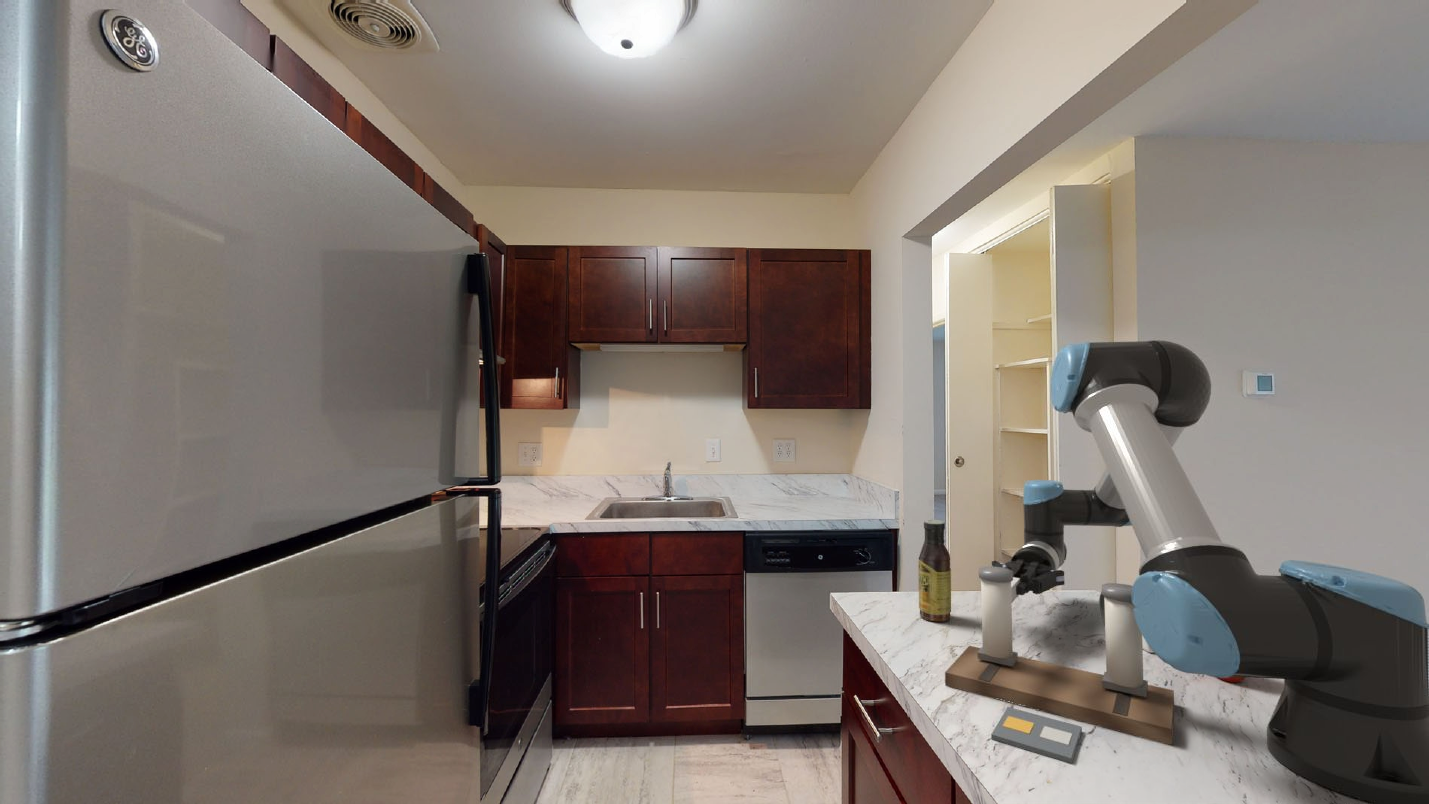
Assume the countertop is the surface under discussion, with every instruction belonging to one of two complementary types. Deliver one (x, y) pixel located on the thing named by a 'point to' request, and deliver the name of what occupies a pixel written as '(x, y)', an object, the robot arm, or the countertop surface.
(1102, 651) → the countertop surface
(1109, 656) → the near slider
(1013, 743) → the card
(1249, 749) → the countertop surface
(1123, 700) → the brown wooden board
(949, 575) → the sauce bottle
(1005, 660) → the far slider
